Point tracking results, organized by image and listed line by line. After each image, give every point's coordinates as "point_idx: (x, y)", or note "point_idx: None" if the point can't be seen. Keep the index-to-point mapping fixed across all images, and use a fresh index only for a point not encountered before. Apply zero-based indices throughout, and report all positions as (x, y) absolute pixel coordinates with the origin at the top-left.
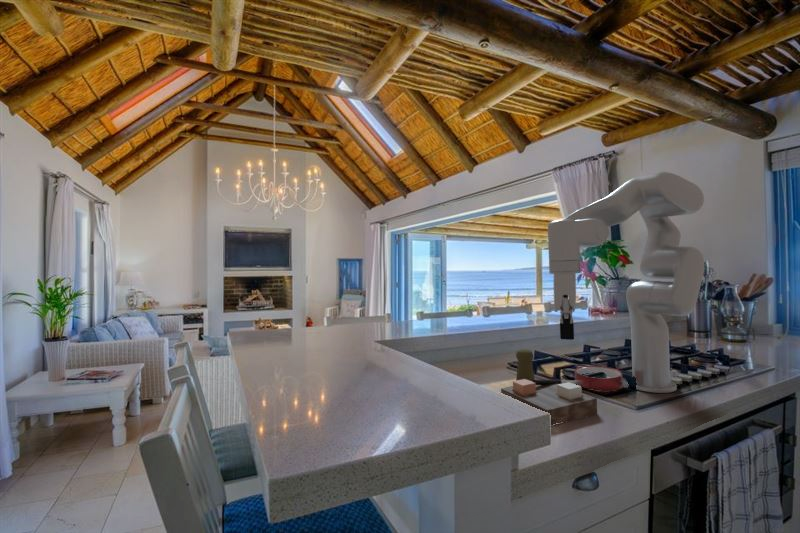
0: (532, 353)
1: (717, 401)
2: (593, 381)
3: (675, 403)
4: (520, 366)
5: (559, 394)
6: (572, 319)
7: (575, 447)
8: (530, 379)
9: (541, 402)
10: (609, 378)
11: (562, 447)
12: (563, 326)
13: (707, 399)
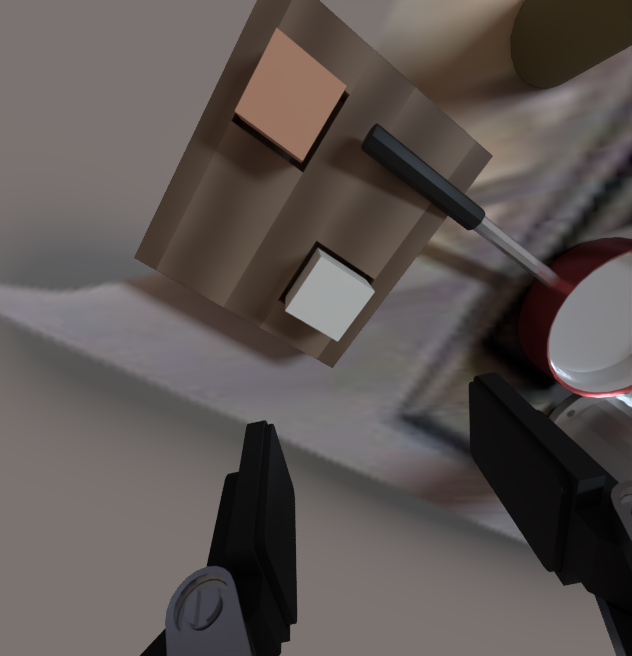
0: None
1: (510, 528)
2: (540, 320)
3: (473, 474)
4: None
5: (312, 258)
6: (572, 580)
7: (79, 337)
8: (546, 61)
9: (196, 217)
10: (550, 370)
11: (55, 311)
12: (208, 558)
13: None
